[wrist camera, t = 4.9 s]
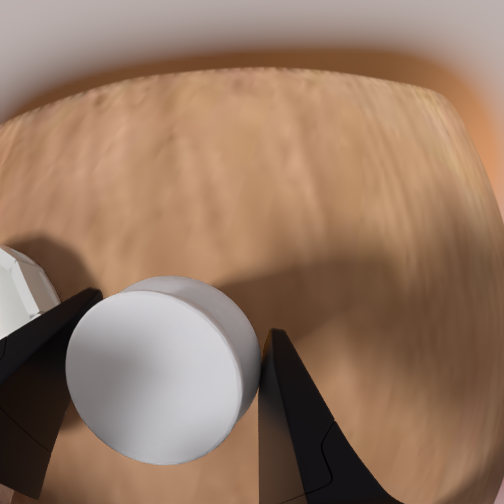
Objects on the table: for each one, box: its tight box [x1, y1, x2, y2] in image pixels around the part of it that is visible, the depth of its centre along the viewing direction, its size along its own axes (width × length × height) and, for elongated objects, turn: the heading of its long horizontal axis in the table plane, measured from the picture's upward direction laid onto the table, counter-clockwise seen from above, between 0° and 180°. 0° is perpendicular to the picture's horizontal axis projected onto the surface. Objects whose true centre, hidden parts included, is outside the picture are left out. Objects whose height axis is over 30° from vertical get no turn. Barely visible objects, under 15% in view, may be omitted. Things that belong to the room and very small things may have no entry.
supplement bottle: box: [66, 276, 262, 465], centre depth 10 cm, size 5×5×10 cm
